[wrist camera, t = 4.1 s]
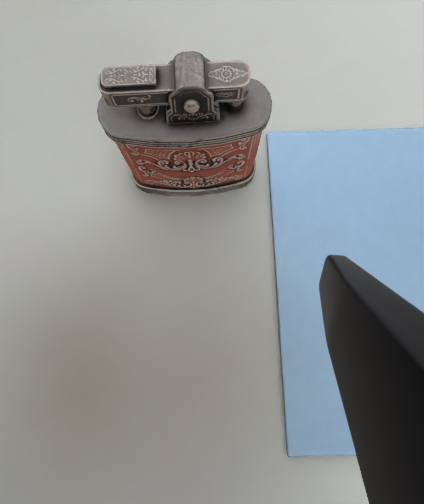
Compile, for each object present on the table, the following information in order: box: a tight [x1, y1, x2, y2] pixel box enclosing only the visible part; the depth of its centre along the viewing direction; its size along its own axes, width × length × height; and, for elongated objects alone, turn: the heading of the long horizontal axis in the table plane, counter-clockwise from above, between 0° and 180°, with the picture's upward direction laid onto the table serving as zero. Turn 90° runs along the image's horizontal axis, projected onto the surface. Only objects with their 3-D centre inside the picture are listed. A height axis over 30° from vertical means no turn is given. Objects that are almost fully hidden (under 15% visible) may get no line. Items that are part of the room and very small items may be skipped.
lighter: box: [97, 51, 272, 196], centre depth 19 cm, size 8×3×10 cm, turn 93°
